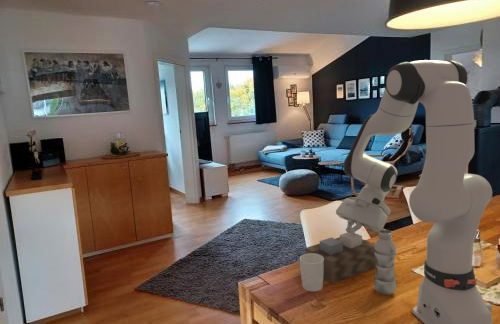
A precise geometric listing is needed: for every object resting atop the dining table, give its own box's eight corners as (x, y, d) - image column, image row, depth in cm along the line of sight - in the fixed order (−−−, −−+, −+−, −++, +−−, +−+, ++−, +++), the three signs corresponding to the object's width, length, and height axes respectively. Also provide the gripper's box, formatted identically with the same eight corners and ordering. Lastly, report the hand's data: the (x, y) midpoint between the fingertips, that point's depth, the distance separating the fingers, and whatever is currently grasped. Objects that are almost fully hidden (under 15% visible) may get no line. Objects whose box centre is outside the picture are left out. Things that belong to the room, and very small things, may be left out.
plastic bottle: (398, 298, 110) (399, 236, 107) (374, 296, 111) (375, 235, 108) (394, 287, 116) (395, 228, 113) (372, 286, 118) (372, 227, 114)
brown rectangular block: (349, 253, 143) (349, 234, 142) (378, 266, 131) (378, 245, 130) (306, 268, 132) (305, 247, 131) (332, 284, 120) (332, 261, 119)
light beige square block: (350, 241, 136) (350, 231, 136) (362, 246, 131) (362, 235, 131) (339, 245, 134) (339, 234, 133) (350, 250, 129) (350, 239, 128)
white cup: (319, 279, 124) (318, 251, 122) (328, 290, 116) (327, 261, 115) (297, 282, 123) (296, 254, 121) (304, 294, 115) (303, 265, 113)
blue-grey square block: (331, 247, 132) (331, 237, 131) (342, 252, 127) (342, 242, 126) (320, 251, 129) (319, 241, 128) (330, 257, 124) (330, 246, 123)
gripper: (343, 191, 142) (325, 220, 139) (386, 203, 124) (366, 236, 121) (352, 200, 145) (334, 228, 142) (394, 212, 127) (375, 245, 124)
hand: (349, 232), depth 131 cm, fingers closed
